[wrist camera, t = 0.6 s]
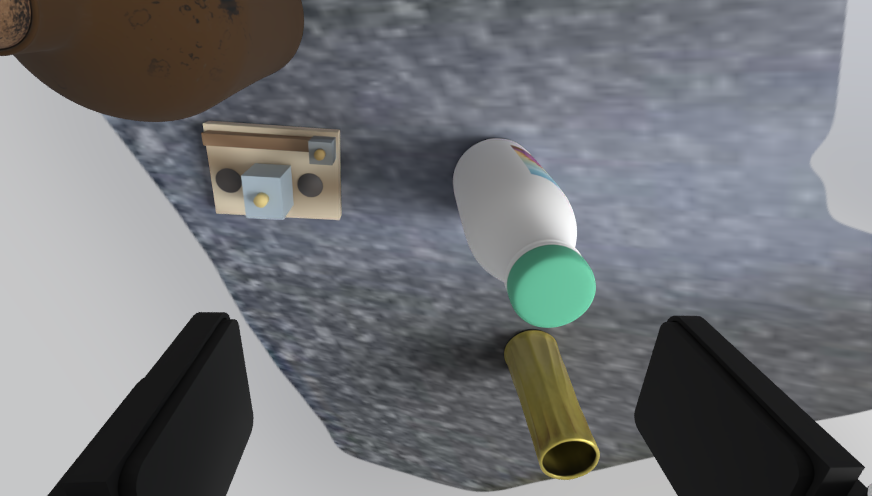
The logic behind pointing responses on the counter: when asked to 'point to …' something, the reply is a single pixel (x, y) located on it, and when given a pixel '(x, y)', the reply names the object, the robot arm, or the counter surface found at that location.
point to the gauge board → (280, 145)
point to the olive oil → (150, 50)
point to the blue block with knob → (267, 191)
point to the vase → (550, 406)
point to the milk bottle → (523, 232)
